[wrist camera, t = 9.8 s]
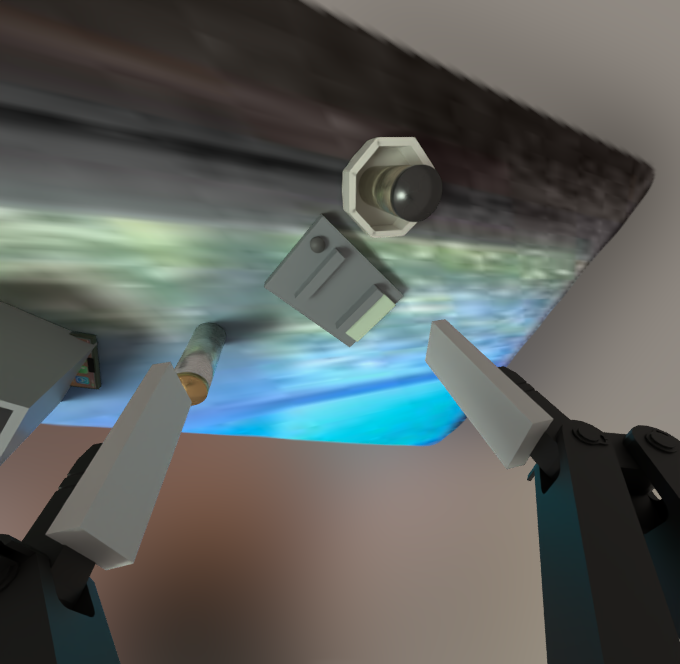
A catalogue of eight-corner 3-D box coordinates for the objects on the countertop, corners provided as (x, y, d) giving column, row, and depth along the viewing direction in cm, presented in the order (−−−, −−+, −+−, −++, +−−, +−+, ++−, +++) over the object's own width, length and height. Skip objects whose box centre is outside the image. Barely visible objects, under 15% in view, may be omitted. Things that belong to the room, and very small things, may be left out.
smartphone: (-91, 302, 25) (-107, 308, 24) (98, 333, 30) (92, 338, 29) (-62, 365, 29) (-74, 373, 28) (103, 383, 34) (97, 390, 33)
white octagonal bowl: (325, 191, 26) (331, 193, 23) (383, 118, 24) (398, 111, 21) (376, 245, 30) (386, 253, 27) (430, 187, 28) (448, 189, 25)
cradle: (264, 282, 30) (263, 292, 28) (321, 213, 27) (325, 218, 25) (347, 341, 37) (352, 353, 35) (399, 291, 34) (408, 300, 32)
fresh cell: (189, 337, 32) (156, 396, 24) (204, 317, 31) (176, 371, 23) (216, 351, 34) (195, 410, 26) (231, 332, 33) (214, 388, 25)
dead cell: (352, 195, 26) (384, 207, 18) (369, 158, 25) (413, 153, 17) (380, 212, 28) (422, 230, 20) (398, 177, 26) (452, 182, 18)
